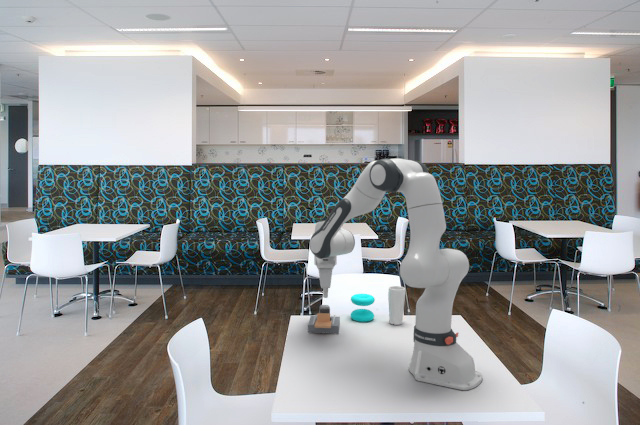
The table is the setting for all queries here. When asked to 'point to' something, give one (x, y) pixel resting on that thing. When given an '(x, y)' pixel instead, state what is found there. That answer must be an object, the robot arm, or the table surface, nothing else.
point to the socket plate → (333, 328)
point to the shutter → (323, 321)
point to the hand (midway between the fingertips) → (325, 294)
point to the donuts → (362, 314)
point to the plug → (324, 309)
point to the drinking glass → (396, 304)
